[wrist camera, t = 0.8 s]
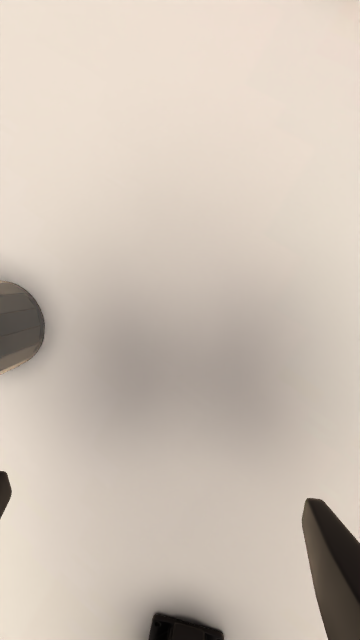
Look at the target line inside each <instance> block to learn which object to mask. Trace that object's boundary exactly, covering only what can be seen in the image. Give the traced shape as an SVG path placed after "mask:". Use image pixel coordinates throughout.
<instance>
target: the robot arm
mask: <svg viewBox="0 0 360 640" xmlns="http://www.w3.org/2000/svg"><path fill="white" fill-rule="evenodd" d="M11 493H12V490H11V486H10V483H9V479H8V475H7V473H6V472H4V471H0V518H1V516H2V514H3V512H4V510H5V508H6V506H7V504H8V502H9V500H10V497H11ZM302 527H303V533H304V538H305V543H306V548H307V553H308V559H309V564H310V569H311V574H312V579H313V584H314V589H315V594H316V598H317V602H318V606H319V609H320V613H321V616H322V620H323V623H324V627H325V630H326V634H327V637H328V640H360V543H359V542H358V541H357V540H356V538H355V537H354V536H353V535H352V534H351V533H350V531H349V530H348V529H347V528H346V527H345V526H344V524H343V523H342V522H341V521H340V520H339V519H338V517H337V516H336V515H335V514H334V513H333V512H332V510H331V509H330V508H329V507H328V506H327V505H326V503H325V502H324V501H322V500H321V499H313V498H307V499H306V501H305V505H304V511H303V516H302ZM149 640H224V635H223V633H222V632H220V631H216V630H213V629H209V628H205V627H202V626H198V625H194V624H191V623H187V622H184V621H180V620H176V619H173V618H169V617H165V616H162V615H155V616H154V617H153V620H152V625H151V630H150V635H149Z"/></svg>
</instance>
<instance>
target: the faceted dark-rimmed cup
mask: <svg viewBox="0 0 360 640" xmlns="http://www.w3.org/2000/svg"><path fill="white" fill-rule="evenodd" d="M43 336H44V320H43V316H42V313H41V310H40V308H39V306H38V304H37V302H36V301H35V300H34V298H33V297H32V296H31V295H30V294H29V293H28V292H27V291H26V290H24V289H23V288H22V287H20V286H18V285H16V284H14V283H11V282H7V281H0V375H1V374H3V373H5V372H7V371H10V370H12V369H14V368H16V367H18V366H20V365H21V364H23V363H25V362H27V361H28V360H30V359H31V358H32V357H33V356H34V355H35V354H36V353H37V351H38V350H39V348H40V346H41V344H42V340H43Z"/></svg>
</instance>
